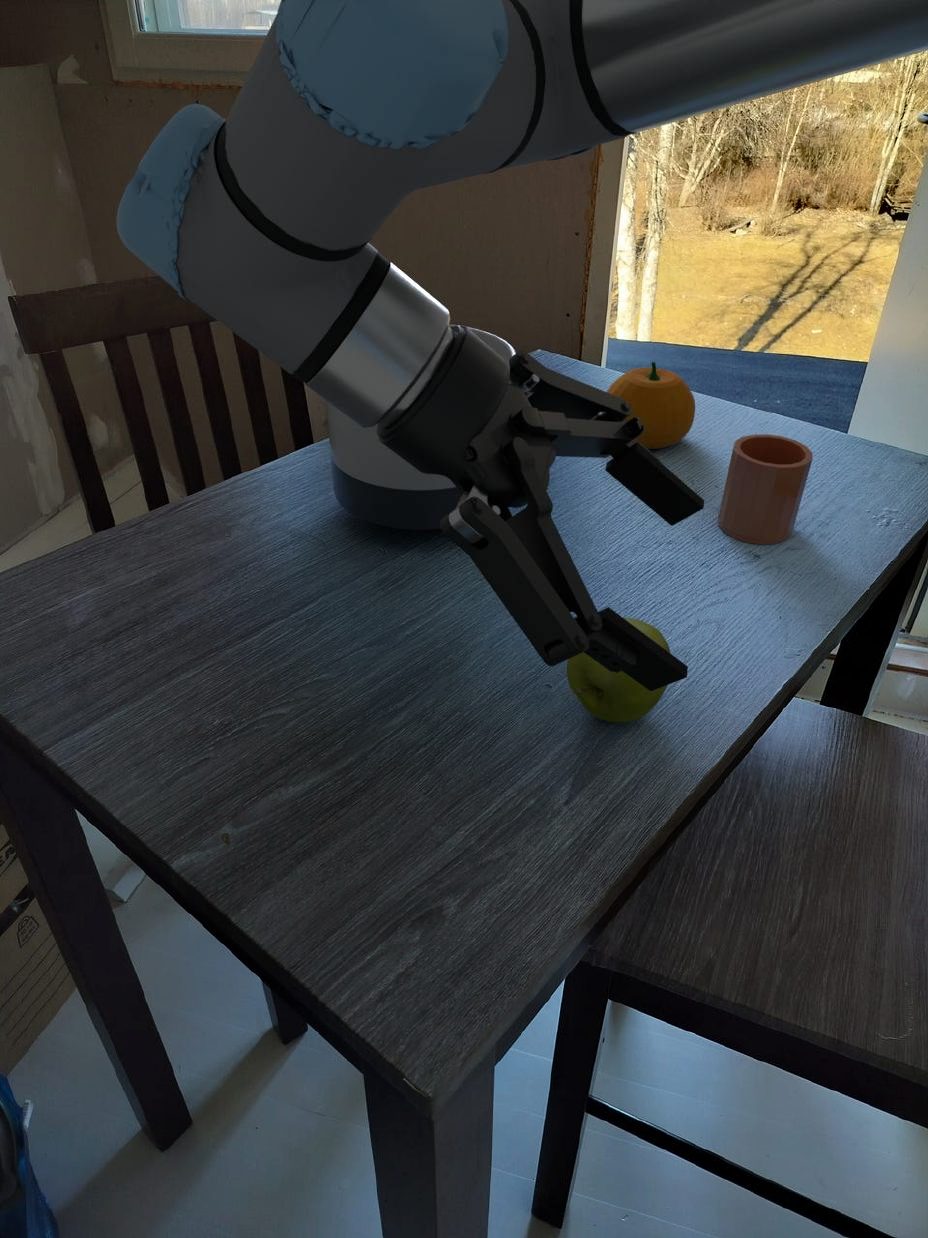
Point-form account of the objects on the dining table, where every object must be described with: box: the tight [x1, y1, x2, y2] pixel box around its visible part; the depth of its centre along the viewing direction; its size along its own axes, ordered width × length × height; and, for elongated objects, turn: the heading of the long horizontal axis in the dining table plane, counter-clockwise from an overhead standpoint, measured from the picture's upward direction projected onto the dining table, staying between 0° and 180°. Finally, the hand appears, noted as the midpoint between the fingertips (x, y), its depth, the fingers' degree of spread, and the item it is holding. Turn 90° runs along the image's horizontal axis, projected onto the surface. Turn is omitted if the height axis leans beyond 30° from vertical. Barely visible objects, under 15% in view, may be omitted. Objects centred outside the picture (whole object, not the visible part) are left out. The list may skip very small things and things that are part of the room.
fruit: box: [600, 361, 696, 450], centre depth 108 cm, size 12×12×10 cm
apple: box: [566, 617, 672, 724], centre depth 67 cm, size 8×9×8 cm
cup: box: [717, 433, 814, 545], centre depth 90 cm, size 8×8×9 cm
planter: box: [325, 323, 517, 531], centre depth 90 cm, size 19×19×18 cm
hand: (679, 590), depth 53 cm, fingers open, 13 cm apart
